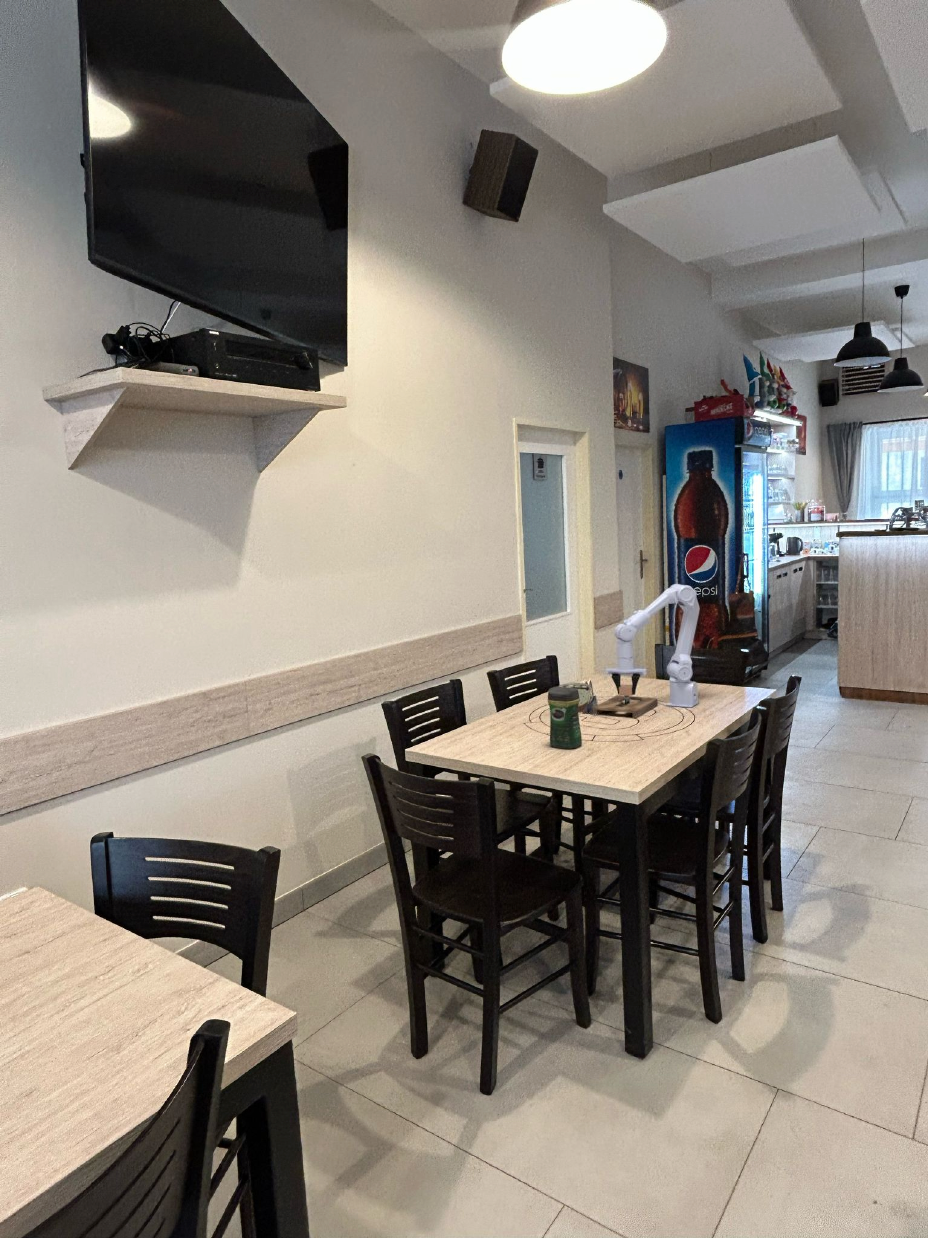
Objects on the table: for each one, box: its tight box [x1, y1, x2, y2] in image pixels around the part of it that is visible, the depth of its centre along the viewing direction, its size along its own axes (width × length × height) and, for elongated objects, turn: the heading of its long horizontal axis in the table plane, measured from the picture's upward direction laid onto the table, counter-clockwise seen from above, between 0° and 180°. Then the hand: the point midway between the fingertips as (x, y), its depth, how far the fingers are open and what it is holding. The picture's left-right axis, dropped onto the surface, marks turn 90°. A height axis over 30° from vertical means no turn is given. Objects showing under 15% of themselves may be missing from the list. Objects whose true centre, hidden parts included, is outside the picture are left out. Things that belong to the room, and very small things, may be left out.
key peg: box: [618, 684, 634, 707], centre depth 288 cm, size 5×5×8 cm
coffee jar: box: [547, 686, 583, 749], centre depth 246 cm, size 10×8×19 cm
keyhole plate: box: [592, 694, 659, 719], centre depth 287 cm, size 16×20×3 cm
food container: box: [557, 682, 592, 714], centre depth 291 cm, size 12×6×10 cm, turn 84°
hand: (626, 694), depth 288 cm, fingers closed on key peg, 5 cm apart
